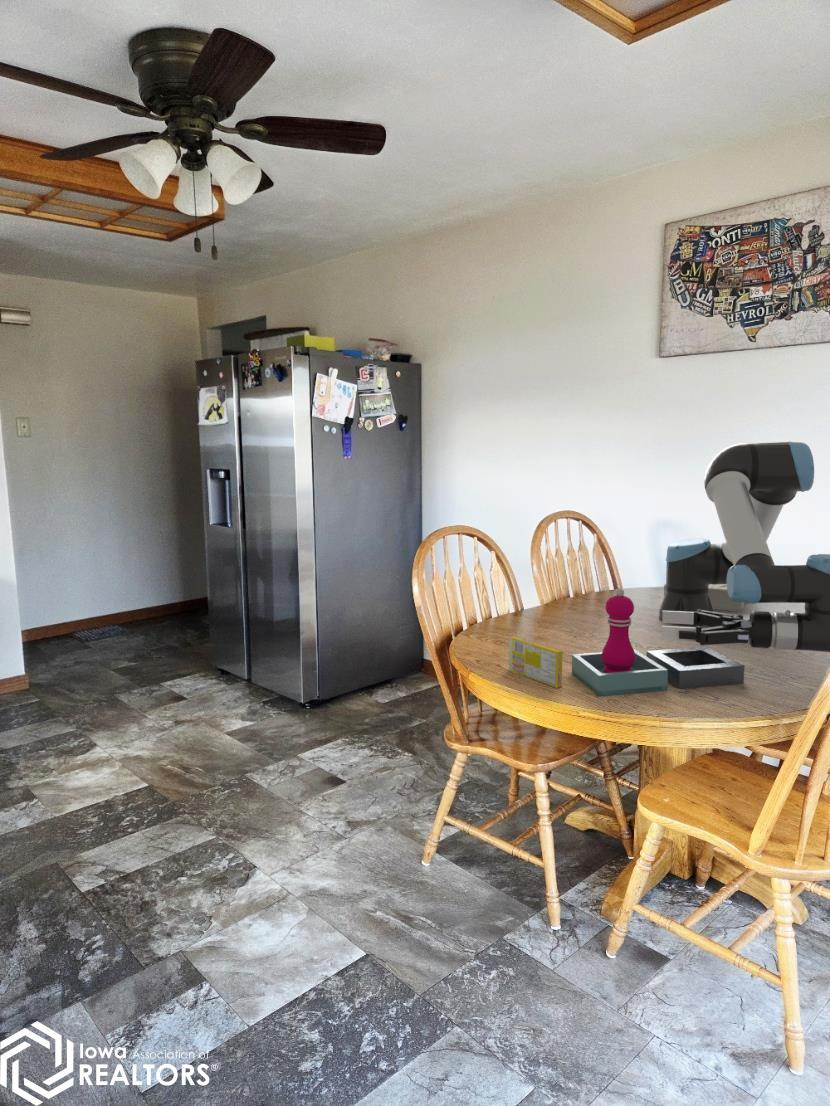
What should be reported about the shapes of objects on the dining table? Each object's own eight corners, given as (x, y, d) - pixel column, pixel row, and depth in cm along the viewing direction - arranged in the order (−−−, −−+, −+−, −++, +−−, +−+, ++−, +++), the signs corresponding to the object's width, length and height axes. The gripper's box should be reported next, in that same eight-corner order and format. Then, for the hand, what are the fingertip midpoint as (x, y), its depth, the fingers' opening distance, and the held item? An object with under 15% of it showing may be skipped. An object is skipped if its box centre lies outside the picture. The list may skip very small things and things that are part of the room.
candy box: (563, 686, 156) (563, 650, 155) (556, 689, 155) (556, 652, 154) (514, 668, 170) (514, 634, 169) (507, 670, 169) (507, 636, 168)
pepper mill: (639, 682, 155) (641, 592, 151) (605, 682, 155) (607, 592, 151) (629, 671, 162) (632, 585, 158) (597, 671, 162) (599, 585, 159)
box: (743, 614, 216) (752, 592, 243) (743, 589, 214) (753, 570, 242) (663, 608, 227) (680, 588, 255) (663, 584, 226) (680, 567, 253)
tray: (634, 668, 167) (635, 649, 166) (667, 690, 152) (667, 669, 151) (571, 673, 165) (571, 654, 164) (598, 696, 150) (598, 675, 149)
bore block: (705, 662, 169) (706, 646, 169) (743, 683, 155) (744, 665, 154) (646, 667, 167) (646, 650, 167) (679, 688, 153) (679, 670, 152)
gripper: (764, 599, 157) (663, 595, 164) (780, 627, 134) (661, 621, 141) (763, 632, 158) (662, 626, 166) (779, 666, 135) (660, 658, 142)
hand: (661, 624), depth 153 cm, fingers open, 13 cm apart
